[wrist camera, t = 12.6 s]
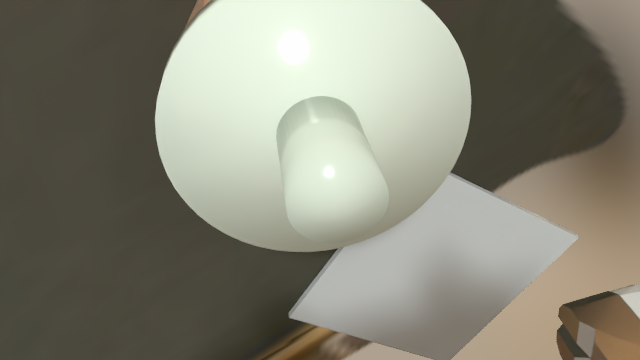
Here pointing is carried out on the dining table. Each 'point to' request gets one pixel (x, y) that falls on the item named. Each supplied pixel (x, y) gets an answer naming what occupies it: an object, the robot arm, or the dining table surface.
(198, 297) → the dining table surface
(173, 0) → the dining table surface
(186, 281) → the dining table surface
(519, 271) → the mat
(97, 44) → the dining table surface
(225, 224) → the lid
